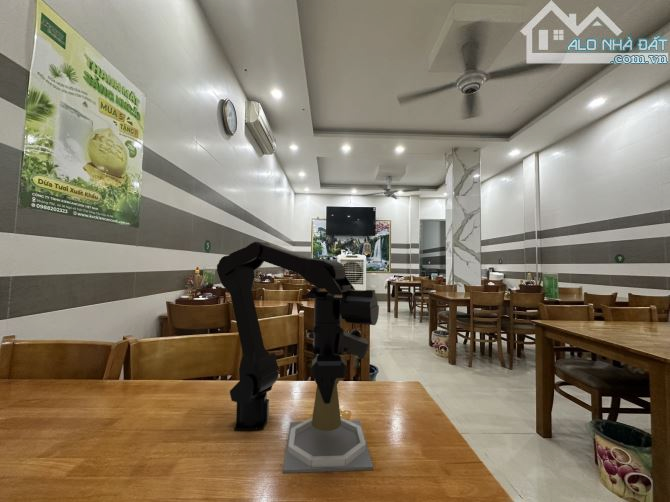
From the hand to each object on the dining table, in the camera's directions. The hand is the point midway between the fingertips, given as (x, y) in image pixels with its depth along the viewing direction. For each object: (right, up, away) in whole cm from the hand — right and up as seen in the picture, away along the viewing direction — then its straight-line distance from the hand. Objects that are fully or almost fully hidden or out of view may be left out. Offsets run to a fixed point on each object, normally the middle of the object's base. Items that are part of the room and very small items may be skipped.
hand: (326, 397), depth 60 cm
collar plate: (0, -9, -1) cm, 9 cm away
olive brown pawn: (0, -5, 0) cm, 5 cm away
